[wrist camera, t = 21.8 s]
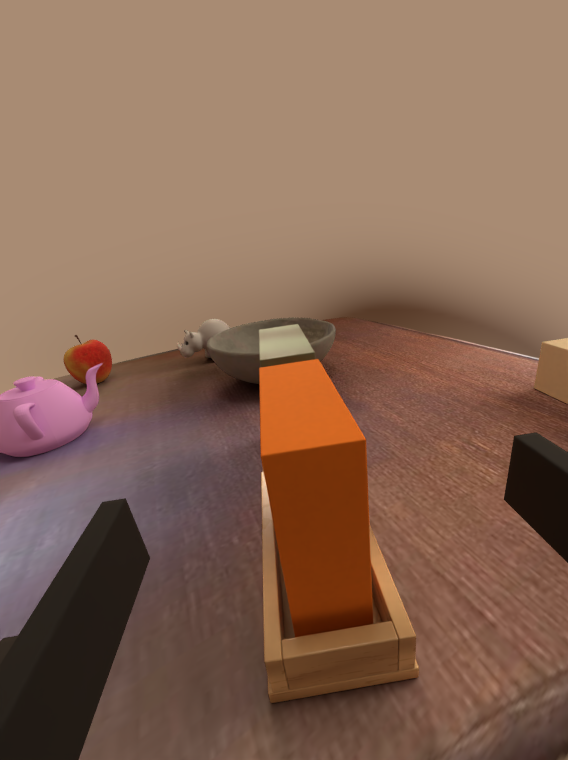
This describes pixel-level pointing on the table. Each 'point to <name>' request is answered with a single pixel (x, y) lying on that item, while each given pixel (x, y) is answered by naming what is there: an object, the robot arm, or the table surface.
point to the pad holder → (335, 648)
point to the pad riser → (553, 369)
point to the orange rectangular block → (316, 497)
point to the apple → (88, 360)
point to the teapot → (44, 414)
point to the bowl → (241, 345)
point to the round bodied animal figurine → (201, 337)
